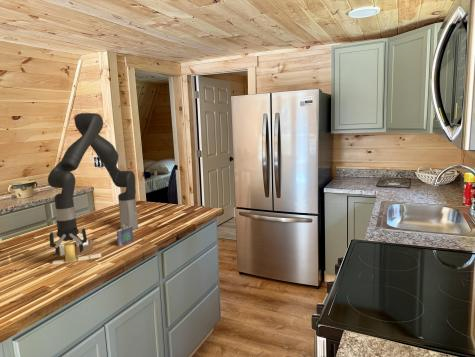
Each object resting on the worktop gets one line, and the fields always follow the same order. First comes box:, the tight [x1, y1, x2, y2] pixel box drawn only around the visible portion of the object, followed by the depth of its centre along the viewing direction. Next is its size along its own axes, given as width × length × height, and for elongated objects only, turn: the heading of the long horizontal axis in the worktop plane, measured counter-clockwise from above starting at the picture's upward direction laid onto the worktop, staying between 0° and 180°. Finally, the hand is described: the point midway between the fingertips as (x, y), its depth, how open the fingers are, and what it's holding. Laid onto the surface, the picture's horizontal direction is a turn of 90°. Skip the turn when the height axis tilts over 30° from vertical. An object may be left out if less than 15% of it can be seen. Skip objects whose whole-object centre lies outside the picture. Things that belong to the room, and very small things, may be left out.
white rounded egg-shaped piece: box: [75, 236, 89, 246], centre depth 159 cm, size 5×5×6 cm
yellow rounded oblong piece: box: [64, 242, 77, 263], centre depth 149 cm, size 4×4×7 cm
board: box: [51, 239, 102, 266], centre depth 155 cm, size 20×18×5 cm
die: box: [59, 243, 66, 257], centre depth 157 cm, size 4×4×4 cm
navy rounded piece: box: [116, 224, 134, 247], centre depth 168 cm, size 9×3×11 cm, turn 151°
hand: (70, 253), depth 149 cm, fingers open, 8 cm apart
